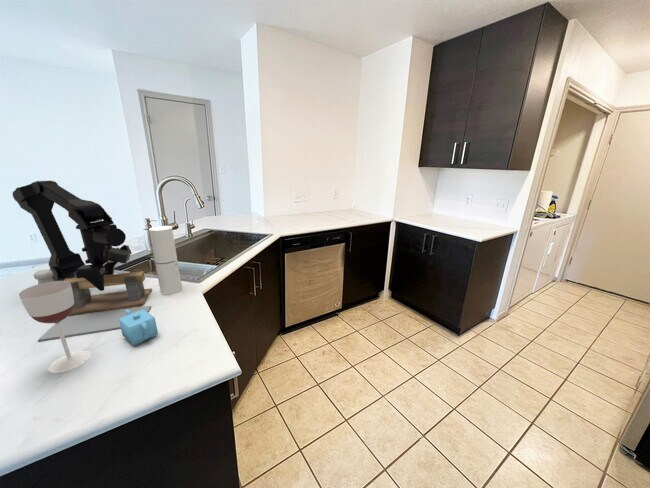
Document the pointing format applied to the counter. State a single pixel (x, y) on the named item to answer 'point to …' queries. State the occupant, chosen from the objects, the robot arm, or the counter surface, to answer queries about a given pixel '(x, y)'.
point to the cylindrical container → (165, 259)
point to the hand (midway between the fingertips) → (106, 286)
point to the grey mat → (89, 323)
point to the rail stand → (109, 298)
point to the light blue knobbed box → (138, 326)
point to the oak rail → (109, 280)
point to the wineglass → (54, 316)
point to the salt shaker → (44, 276)
